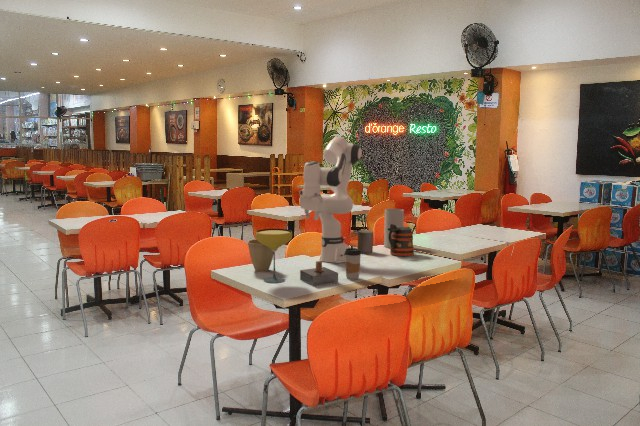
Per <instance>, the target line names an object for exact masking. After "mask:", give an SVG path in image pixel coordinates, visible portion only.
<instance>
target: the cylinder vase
mask: <svg viewBox="0 0 640 426" xmlns="http://www.w3.org/2000/svg"><path fill="white" fill-rule="evenodd" d="M404 217H405V210H404V209H403V208H402V209H401V208H385V209H384V233H383V235H384V238H383V239H384V240H383V246H384V248H387V249H390V247H391V244H390V242H389V232H390V231H389V230H388V228H390V225H391V224H393V225H396V227H405V226H404V225H405V224H404V222H405V220H404ZM392 233H393V232H392ZM391 238H392V234H391Z"/></svg>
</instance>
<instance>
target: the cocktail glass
mask: <svg viewBox="0 0 640 426" xmlns="http://www.w3.org/2000/svg"><path fill="white" fill-rule="evenodd" d="M292 238H293V231H292V230H291V229H288V228H287V229H285V228H264V229H259V230H257V231H256V232H255V239H257V240H258V241H259V242H260V243H262V244H264V245H266V246H268V247H269V248H270V249H271V250H272V251H273V252H274V254H273V275H272V277H266V278H264V279H263V282H264V283H267V284H279V283H284V282H285V281H286V278H284V277H280V276H279V277H278V276H276V257H275V256H276V251H278V249H279V248H280V247H283V246H284V245H286V244H288V243H289V242H290V241H291V240H292Z"/></svg>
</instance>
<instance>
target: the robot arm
mask: <svg viewBox="0 0 640 426" xmlns="http://www.w3.org/2000/svg"><path fill="white" fill-rule="evenodd" d="M362 153H363V151H362V146H361V145H359V144H357V143H349V142H348V141H347V140H346V139H345V137H343V136H339V135H338V136H335V137H333V138H332V139H331V140H330V141H329V142H328V143H327V144H326V146H325V147H324V150H323V158H324V160H325V161H326V162H327V163H329V164H330V165H334V166H332V167H325V166H324V167H323V166H320V161H314V160H311V161H306V162H305V163H304V166H303V174H302V175H303V177H302V178H303V189H301V190H299V206H300V208H301V209H303V210H304V211H303V212H304V214H305V218H307V219H310V218H311V217H310V216H311V215H310V211H312V212H314V216H313V220H314V221H318V220H320V222H321V232H322V233H321V239H320V241H321V251H320V257H319V259H318V261H322V263H323V262H325V263H336V264H341V263H345V251H346V249H348V248H351V247H350V246H349V245H348V244H346V243H345V242H344V241H347V239H348V238H347V237H345V236H342V224H341V222H340V220H338V219H336V217H334V214H339V215H343V214H349V213H351V212H352V210H353V207H354V201H353V199H352V198H351V196H350V195H349V194H348V185H349V183H350V179H351V175H352V170H353V169H352V168H353V166H354V165H356V163H358V162H359V161H360V159H361V156H362V155H363V154H362ZM321 186H324V187H325V186H327V187H329V189H330V190H331V191H332V192H333V193H332V194H330V193H321Z"/></svg>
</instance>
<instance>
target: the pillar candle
mask: <svg viewBox="0 0 640 426" xmlns="http://www.w3.org/2000/svg"><path fill="white" fill-rule="evenodd" d="M373 241H374V231H373V230H368V229H360V230H358V231H357V249H360V251H361V255H369V254H373V252H374V251H373V250H374V249H373V248H374V247H373V245H374V242H373Z"/></svg>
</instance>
